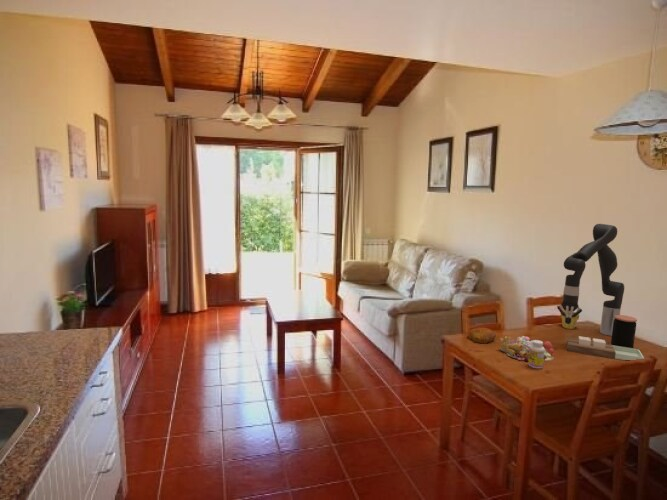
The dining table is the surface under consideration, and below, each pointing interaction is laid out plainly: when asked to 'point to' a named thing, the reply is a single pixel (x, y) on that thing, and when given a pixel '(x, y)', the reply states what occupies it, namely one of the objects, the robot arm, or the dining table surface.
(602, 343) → the tile
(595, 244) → the robot arm
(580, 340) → the tile
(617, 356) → the tray
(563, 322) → the plant pot
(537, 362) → the supplement bottle
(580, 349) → the board
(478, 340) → the round bread loaf
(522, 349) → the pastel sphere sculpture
